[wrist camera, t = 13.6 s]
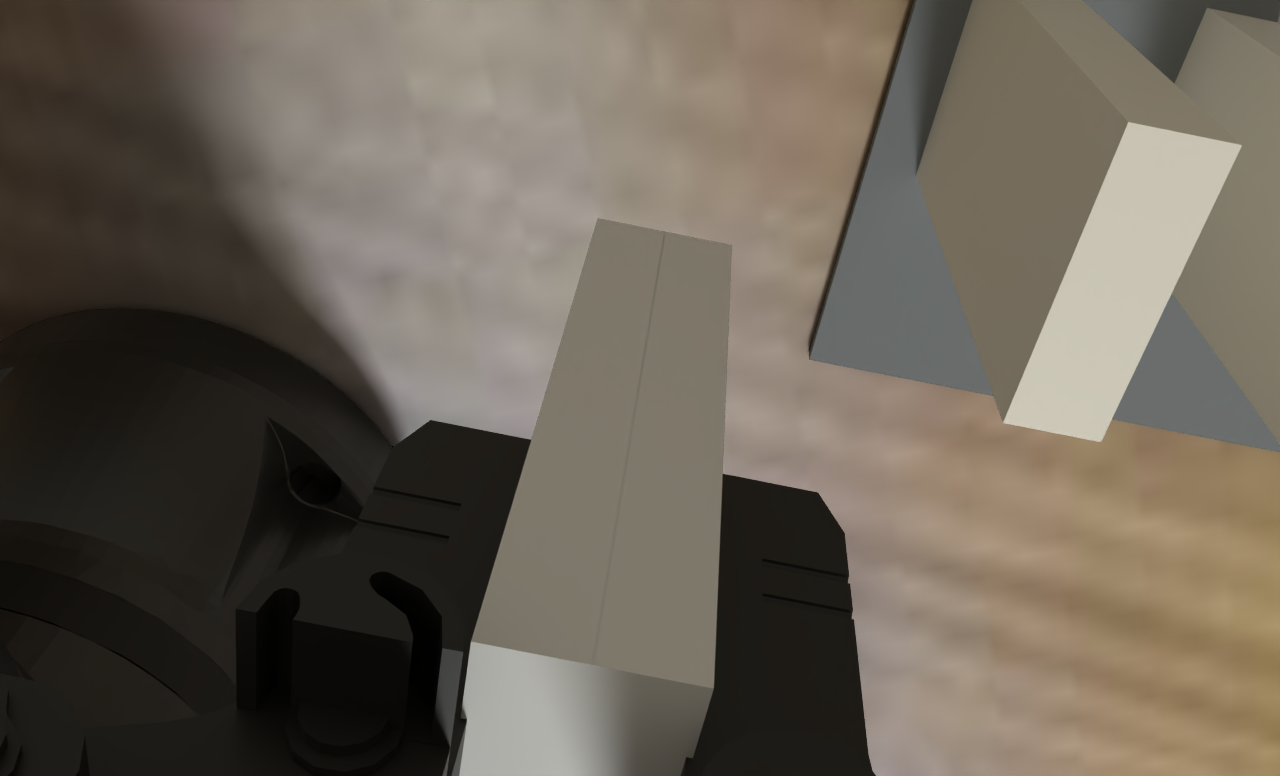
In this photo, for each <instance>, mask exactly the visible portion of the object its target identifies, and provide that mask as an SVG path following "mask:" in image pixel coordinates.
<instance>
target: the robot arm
mask: <svg viewBox="0 0 1280 776" xmlns="http://www.w3.org/2000/svg"><path fill="white" fill-rule="evenodd" d="M731 256H732V245H729V244H724V243H719V242H714V241H709V240H704V239H699V238H694V237H689V236H684V235H679V234H674V233H669V232H664V231H659V230H654V229H649V228H644V227H639V226H634V225H629V224H624V223H619V222H614V221H609V220H604V219H599V218H598V219H597V223H596V226H595V229H594V233H593V236H592V239H591V243H590V246H589V249H588V253H587V256H586V259H585V263H584V266H583V269H582V273H581V276H580V279H579V283H578V286H577V289H576V293H575V296H574V299H573V303H572V306H571V309H570V313H569V316H568V319H567V323H566V326H565V329H564V333H563V336H562V339H561V343H560V346H559V349H558V353H557V356H556V359H555V363H554V366H553V369H552V373H551V376H550V380H549V383H548V386H547V390H546V393H545V396H544V400H543V403H542V406H541V410H540V413H539V416H538V420H537V423H536V426H535V430H534V433H533V436H532V440H529V439H524V438H519V437H514V436H508V435H503V434H498V433H493V432H488V431H483V430H478V429H473V428H468V427H463V426H458V425H453V424H448V423H443V422H437V421H432V420H430V421H429V422H427V423H426V424H425V425H423V426H422V427H420V428H419V429H418V430H416V431H415V432H414V433H412V434H411V435H409V436H408V437H407V438H405V439H404V440H403V441H401V442H400V443H399V444H397V445H396V446H394V447H393V448H392V447H391V446H390V444H389V443H388V442H387V440H386V439H385V438H384V436H383V435H382V434H381V433H380V431H379V430H378V429H377V428H376V426H375V425H374V424H373V423H372V422H371V421H370V420H369V419H368V418H367V417H366V415H365V414H364V413H363V412H362V411H361V410H360V409H359V408H358V407H357V406H356V405H355V404H354V403H353V402H351V401H350V400H349V399H348V398H347V397H346V396H345V395H344V394H343V393H341V392H340V391H339V390H338V389H337V388H335V387H334V386H333V385H332V384H331V383H329V382H328V381H327V380H325V379H324V378H322V377H321V376H320V375H318V374H317V373H316V372H314V371H313V370H311V369H310V368H308V367H307V366H305V365H304V364H302V363H301V362H299V361H298V360H296V359H294V358H292V357H291V356H289V355H287V354H285V353H284V352H282V351H280V350H278V349H276V348H274V347H272V346H270V345H268V344H266V343H264V342H262V341H260V340H258V339H256V338H253V337H251V336H248V335H246V334H244V333H241V332H239V331H236V330H233V329H230V328H228V327H225V326H222V325H219V324H216V323H212V322H209V321H205V320H202V319H198V318H194V317H189V316H185V315H180V314H175V313H168V312H162V311H154V310H143V309H99V310H90V311H81V312H76V313H71V314H66V315H62V316H58V317H54V318H51V319H47V320H44V321H42V322H39V323H36V324H34V325H31V326H29V327H27V328H25V329H23V330H21V331H19V332H16V333H15V334H13V335H11V336H10V337H8V338H6V339H5V340H3V341H2V342H0V776H876V775H875V774H874V772H873V771H872V767H871V763H870V759H869V755H868V747H867V738H866V729H865V719H864V710H863V701H862V691H861V682H860V673H859V663H858V654H857V645H856V635H855V626H854V620H853V619H852V612H853V608H852V598H851V589H850V584H848V577H849V570H848V561H847V552H846V542H845V533H844V532H843V530H842V529H841V527H840V526H839V524H838V522H837V521H836V519H835V518H834V516H833V515H832V513H831V512H830V510H829V509H828V507H827V506H826V504H825V503H824V501H823V500H822V498H821V496H820V495H819V493H817V492H812V491H807V490H802V489H797V488H792V487H787V486H782V485H777V484H772V483H767V482H762V481H756V480H751V479H746V478H741V477H736V476H731V475H726V474H723V452H724V428H725V403H726V379H727V354H728V330H729V305H730V281H731Z"/></svg>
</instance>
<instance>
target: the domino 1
mask: <svg viewBox="0 0 1280 776" xmlns="http://www.w3.org/2000/svg"><path fill="white" fill-rule="evenodd" d="M1241 147H1242V145H1241V144H1240V143H1239V142H1238V141H1237V140H1236V139H1235V138H1234V137H1233V136H1232V135H1230V134H1229V133H1228V132H1227V131H1226V130H1225V129H1224V128H1223V127H1222V126H1221V125H1219V124H1218V123H1217V122H1216V121H1215V120H1214V119H1213V118H1212V117H1211V116H1209V115H1208V114H1207V113H1206V112H1205V111H1204V110H1203V109H1202V108H1201V107H1200V106H1198V105H1197V104H1196V103H1195V102H1194V101H1193V100H1192V99H1191V98H1190V97H1189V96H1187V95H1186V94H1185V93H1184V92H1183V91H1182V90H1181V89H1180V88H1179V87H1177V86H1176V85H1175V84H1174V83H1173V82H1172V81H1171V80H1170V79H1169V78H1168V77H1166V76H1165V75H1164V74H1163V73H1162V72H1161V71H1160V70H1159V69H1158V68H1156V67H1155V66H1154V65H1153V64H1152V63H1151V62H1150V61H1149V60H1148V59H1147V58H1145V57H1144V56H1143V55H1142V54H1141V53H1140V52H1139V51H1138V50H1137V49H1136V48H1134V47H1133V46H1132V45H1131V44H1130V43H1129V42H1128V41H1127V40H1126V39H1124V38H1123V37H1122V36H1121V35H1120V34H1119V33H1118V32H1117V31H1116V30H1115V29H1113V28H1112V27H1111V26H1110V25H1109V24H1108V23H1107V22H1106V21H1105V20H1103V19H1102V18H1101V17H1100V16H1099V15H1098V14H1097V13H1096V12H1095V11H1094V10H1092V9H1091V8H1090V7H1089V6H1088V5H1087V4H1086V3H1085V2H1084V1H1083V0H973V1H972V4H971V7H970V10H969V13H968V16H967V19H966V22H965V25H964V28H963V31H962V35H961V38H960V41H959V44H958V47H957V50H956V53H955V56H954V59H953V62H952V65H951V69H950V72H949V75H948V78H947V81H946V84H945V87H944V90H943V93H942V96H941V99H940V103H939V106H938V109H937V112H936V115H935V118H934V121H933V124H932V127H931V130H930V133H929V137H928V140H927V143H926V146H925V149H924V152H923V155H922V158H921V161H920V164H919V167H918V170H917V174H916V178H917V180H918V183H919V186H920V189H921V192H922V195H923V197H924V200H925V203H926V206H927V209H928V212H929V214H930V217H931V220H932V223H933V226H934V229H935V231H936V234H937V237H938V240H939V243H940V246H941V248H942V251H943V254H944V257H945V260H946V263H947V265H948V268H949V271H950V274H951V277H952V280H953V282H954V285H955V288H956V291H957V294H958V297H959V299H960V302H961V305H962V308H963V311H964V314H965V316H966V319H967V322H968V325H969V328H970V331H971V333H972V336H973V339H974V342H975V345H976V348H977V350H978V353H979V356H980V359H981V362H982V365H983V367H984V370H985V373H986V376H987V379H988V382H989V384H990V387H991V390H992V393H993V396H994V399H995V401H996V404H997V407H998V410H999V413H1000V416H1001V418H1002V421H1003V423H1006V424H1011V425H1016V426H1021V427H1027V428H1032V429H1037V430H1042V431H1047V432H1052V433H1057V434H1062V435H1067V436H1072V437H1077V438H1083V439H1088V440H1093V441H1098V442H1101V441H1102V439H1103V437H1104V434H1105V432H1106V430H1107V428H1108V426H1109V424H1110V422H1111V420H1112V418H1113V416H1114V413H1115V411H1116V409H1117V407H1118V405H1119V403H1120V401H1121V399H1122V397H1123V395H1124V392H1125V390H1126V388H1127V386H1128V384H1129V382H1130V380H1131V378H1132V376H1133V374H1134V371H1135V369H1136V367H1137V365H1138V363H1139V361H1140V359H1141V357H1142V355H1143V353H1144V350H1145V348H1146V346H1147V344H1148V342H1149V340H1150V338H1151V336H1152V334H1153V332H1154V329H1155V327H1156V325H1157V323H1158V321H1159V319H1160V317H1161V315H1162V313H1163V311H1164V308H1165V306H1166V304H1167V302H1168V300H1169V298H1170V296H1171V294H1172V292H1173V290H1174V287H1175V285H1176V283H1177V281H1178V279H1179V277H1180V275H1181V273H1182V271H1183V269H1184V266H1185V264H1186V262H1187V260H1188V258H1189V256H1190V254H1191V252H1192V250H1193V248H1194V245H1195V243H1196V241H1197V239H1198V237H1199V235H1200V233H1201V231H1202V229H1203V227H1204V224H1205V222H1206V220H1207V218H1208V216H1209V214H1210V212H1211V210H1212V208H1213V205H1214V203H1215V201H1216V199H1217V197H1218V195H1219V193H1220V191H1221V189H1222V187H1223V184H1224V182H1225V180H1226V178H1227V176H1228V174H1229V172H1230V170H1231V168H1232V166H1233V163H1234V161H1235V159H1236V157H1237V155H1238V153H1239V151H1240V149H1241Z"/></svg>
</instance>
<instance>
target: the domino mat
mask: <svg viewBox="0 0 1280 776" xmlns="http://www.w3.org/2000/svg"><path fill="white" fill-rule="evenodd" d="M972 1H973V0H914V2H913V5H912V9H911V12H910V16H909V19H908V22H907V26H906V29H905V32H904V36H903V39H902V42H901V46H900V49H899V53H898V56H897V59H896V63H895V66H894V69H893V73H892V76H891V79H890V83H889V86H888V90H887V93H886V96H885V100H884V103H883V106H882V110H881V113H880V116H879V120H878V123H877V127H876V130H875V133H874V137H873V140H872V143H871V147H870V150H869V153H868V157H867V160H866V164H865V167H864V170H863V174H862V177H861V180H860V184H859V187H858V190H857V194H856V197H855V201H854V204H853V207H852V211H851V214H850V217H849V221H848V224H847V227H846V231H845V234H844V237H843V241H842V244H841V248H840V251H839V254H838V258H837V261H836V264H835V268H834V271H833V274H832V278H831V281H830V285H829V288H828V291H827V295H826V298H825V301H824V305H823V308H822V311H821V315H820V318H819V322H818V325H817V328H816V332H815V335H814V338H813V342H812V345H811V348H810V352H809V360H813V361H819V362H824V363H829V364H834V365H839V366H844V367H849V368H854V369H859V370H864V371H869V372H874V373H880V374H885V375H890V376H895V377H900V378H905V379H910V380H915V381H920V382H925V383H930V384H935V385H941V386H946V387H951V388H956V389H961V390H966V391H971V392H976V393H981V394H986V395H991V396H993V393H992V390H991V387H990V384H989V382H988V379H987V376H986V373H985V370H984V367H983V365H982V362H981V359H980V356H979V353H978V350H977V348H976V345H975V342H974V339H973V336H972V333H971V331H970V328H969V325H968V322H967V319H966V316H965V314H964V311H963V308H962V305H961V302H960V299H959V297H958V294H957V291H956V288H955V285H954V282H953V280H952V277H951V274H950V271H949V268H948V265H947V263H946V260H945V257H944V254H943V251H942V248H941V246H940V243H939V240H938V237H937V234H936V231H935V229H934V226H933V223H932V220H931V217H930V214H929V212H928V209H927V206H926V203H925V200H924V197H923V195H922V192H921V189H920V186H919V183H918V180H917V178H916V174H917V170H918V167H919V164H920V161H921V158H922V155H923V152H924V149H925V146H926V143H927V140H928V137H929V133H930V130H931V127H932V124H933V121H934V118H935V115H936V112H937V109H938V106H939V103H940V99H941V96H942V93H943V90H944V87H945V84H946V81H947V78H948V75H949V72H950V69H951V65H952V62H953V59H954V56H955V53H956V50H957V47H958V44H959V41H960V38H961V35H962V31H963V28H964V25H965V22H966V19H967V16H968V13H969V10H970V7H971V4H972ZM1083 1H1084V2H1085V3H1086V4H1087V5H1088V6H1089V7H1090V8H1091V9H1092V10H1094V11H1095V12H1096V13H1097V14H1098V15H1099V16H1100V17H1101V18H1102V19H1103V20H1105V21H1106V22H1107V23H1108V24H1109V25H1110V26H1111V27H1112V28H1113V29H1115V30H1116V31H1117V32H1118V33H1119V34H1120V35H1121V36H1122V37H1123V38H1124V39H1126V40H1127V41H1128V42H1129V43H1130V44H1131V45H1132V46H1133V47H1134V48H1136V49H1137V50H1138V51H1139V52H1140V53H1141V54H1142V55H1143V56H1144V57H1145V58H1147V59H1148V60H1149V61H1150V62H1151V63H1152V64H1153V65H1154V66H1155V67H1156V68H1158V69H1159V70H1160V71H1161V72H1162V73H1163V74H1164V75H1165V76H1166V77H1168V78H1169V79H1170V80H1171V81H1172V82H1173V83H1174V84H1175V81H1176V79H1177V77H1178V74H1179V72H1180V70H1181V67H1182V65H1183V63H1184V60H1185V58H1186V56H1187V53H1188V51H1189V49H1190V46H1191V44H1192V42H1193V39H1194V37H1195V35H1196V32H1197V30H1198V28H1199V26H1200V23H1201V21H1202V19H1203V16H1204V14H1205V12H1206V9H1207V8H1210V9H1215V10H1220V11H1225V12H1230V13H1235V14H1239V15H1244V16H1249V17H1254V18H1259V19H1264V20H1268V21H1273V22H1278V23H1280V0H1083ZM1112 419H1113V420H1118V421H1124V422H1129V423H1134V424H1139V425H1144V426H1149V427H1154V428H1159V429H1164V430H1169V431H1174V432H1179V433H1185V434H1190V435H1195V436H1200V437H1205V438H1210V439H1215V440H1220V441H1225V442H1230V443H1235V444H1240V445H1246V446H1251V447H1256V448H1261V449H1266V450H1271V451H1276V452H1280V444H1279V442H1278V441H1277V439H1276V438H1275V437H1274V435H1273V434H1272V432H1271V431H1270V430H1269V428H1268V427H1267V425H1266V424H1265V423H1264V421H1263V420H1262V418H1261V417H1260V416H1259V414H1258V413H1257V411H1256V410H1255V409H1254V407H1253V406H1252V404H1251V403H1250V402H1249V400H1248V399H1247V397H1246V396H1245V394H1244V393H1243V392H1242V390H1241V389H1240V387H1239V386H1238V385H1237V383H1236V382H1235V380H1234V379H1233V378H1232V376H1231V375H1230V373H1229V372H1228V371H1227V369H1226V368H1225V366H1224V365H1223V364H1222V362H1221V361H1220V359H1219V358H1218V357H1217V355H1216V354H1215V352H1214V351H1213V350H1212V348H1211V347H1210V345H1209V344H1208V343H1207V341H1206V340H1205V338H1204V337H1203V336H1202V334H1201V333H1200V331H1199V330H1198V329H1197V327H1196V326H1195V324H1194V323H1193V322H1192V320H1191V319H1190V317H1189V316H1188V315H1187V313H1186V312H1185V310H1184V309H1183V308H1182V306H1181V305H1180V303H1179V302H1178V301H1177V299H1176V298H1175V296H1174V295H1173V294H1171V296H1170V298H1169V300H1168V302H1167V304H1166V306H1165V308H1164V311H1163V313H1162V315H1161V317H1160V319H1159V321H1158V323H1157V325H1156V327H1155V329H1154V332H1153V334H1152V336H1151V338H1150V340H1149V342H1148V344H1147V346H1146V348H1145V350H1144V353H1143V355H1142V357H1141V359H1140V361H1139V363H1138V365H1137V367H1136V369H1135V371H1134V374H1133V376H1132V378H1131V380H1130V382H1129V384H1128V386H1127V388H1126V390H1125V392H1124V395H1123V397H1122V399H1121V401H1120V403H1119V405H1118V407H1117V409H1116V411H1115V413H1114V416H1113V418H1112Z"/></svg>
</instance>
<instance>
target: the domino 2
mask: <svg viewBox="0 0 1280 776" xmlns="http://www.w3.org/2000/svg"><path fill="white" fill-rule="evenodd" d="M1175 85H1176V86H1177V87H1179V88H1180V89H1181V90H1182V91H1183V92H1184V93H1185V94H1186V95H1187V96H1189V97H1190V98H1191V99H1192V100H1193V101H1194V102H1195V103H1196V104H1197V105H1198V106H1200V107H1201V108H1202V109H1203V110H1204V111H1205V112H1206V113H1207V114H1208V115H1209V116H1211V117H1212V118H1213V119H1214V120H1215V121H1216V122H1217V123H1218V124H1219V125H1221V126H1222V127H1223V128H1224V129H1225V130H1226V131H1227V132H1228V133H1229V134H1230V135H1232V136H1233V137H1234V138H1235V139H1236V140H1237V141H1238V142H1239V143H1240V144H1241V145H1242V147H1241V149H1240V151H1239V153H1238V155H1237V157H1236V159H1235V161H1234V163H1233V166H1232V168H1231V170H1230V172H1229V174H1228V176H1227V178H1226V180H1225V182H1224V184H1223V187H1222V189H1221V191H1220V193H1219V195H1218V197H1217V199H1216V201H1215V203H1214V205H1213V208H1212V210H1211V212H1210V214H1209V216H1208V218H1207V220H1206V222H1205V224H1204V227H1203V229H1202V231H1201V233H1200V235H1199V237H1198V239H1197V241H1196V243H1195V245H1194V248H1193V250H1192V252H1191V254H1190V256H1189V258H1188V260H1187V262H1186V264H1185V266H1184V269H1183V271H1182V273H1181V275H1180V277H1179V279H1178V281H1177V283H1176V285H1175V287H1174V290H1173V292H1172V294H1173V295H1174V296H1175V298H1176V299H1177V301H1178V302H1179V303H1180V305H1181V306H1182V308H1183V309H1184V310H1185V312H1186V313H1187V315H1188V316H1189V317H1190V319H1191V320H1192V322H1193V323H1194V324H1195V326H1196V327H1197V329H1198V330H1199V331H1200V333H1201V334H1202V336H1203V337H1204V338H1205V340H1206V341H1207V343H1208V344H1209V345H1210V347H1211V348H1212V350H1213V351H1214V352H1215V354H1216V355H1217V357H1218V358H1219V359H1220V361H1221V362H1222V364H1223V365H1224V366H1225V368H1226V369H1227V371H1228V372H1229V373H1230V375H1231V376H1232V378H1233V379H1234V380H1235V382H1236V383H1237V385H1238V386H1239V387H1240V389H1241V390H1242V392H1243V393H1244V394H1245V396H1246V397H1247V399H1248V400H1249V402H1250V403H1251V404H1252V406H1253V407H1254V409H1255V410H1256V411H1257V413H1258V414H1259V416H1260V417H1261V418H1262V420H1263V421H1264V423H1265V424H1266V425H1267V427H1268V428H1269V430H1270V431H1271V432H1272V434H1273V435H1274V437H1275V438H1276V439H1277V441H1278V442H1279V444H1280V23H1278V22H1273V21H1268V20H1264V19H1259V18H1254V17H1249V16H1244V15H1239V14H1235V13H1230V12H1225V11H1220V10H1215V9H1210V8H1207V9H1206V12H1205V14H1204V16H1203V19H1202V21H1201V23H1200V26H1199V28H1198V30H1197V32H1196V35H1195V37H1194V39H1193V42H1192V44H1191V46H1190V49H1189V51H1188V53H1187V56H1186V58H1185V60H1184V63H1183V65H1182V67H1181V70H1180V72H1179V74H1178V77H1177V79H1176V81H1175Z"/></svg>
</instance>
